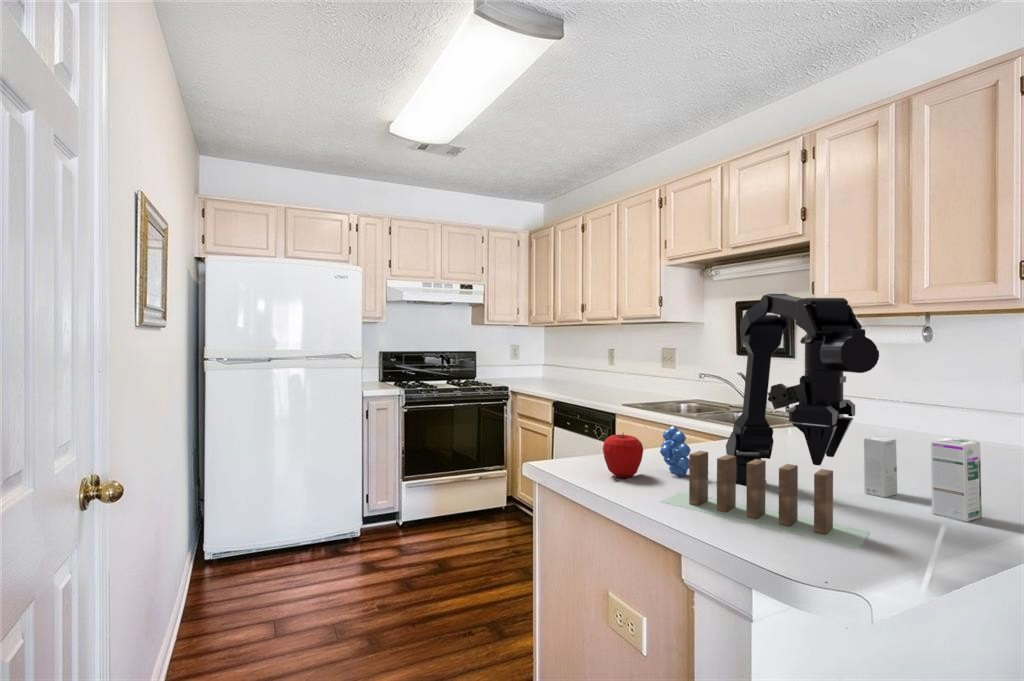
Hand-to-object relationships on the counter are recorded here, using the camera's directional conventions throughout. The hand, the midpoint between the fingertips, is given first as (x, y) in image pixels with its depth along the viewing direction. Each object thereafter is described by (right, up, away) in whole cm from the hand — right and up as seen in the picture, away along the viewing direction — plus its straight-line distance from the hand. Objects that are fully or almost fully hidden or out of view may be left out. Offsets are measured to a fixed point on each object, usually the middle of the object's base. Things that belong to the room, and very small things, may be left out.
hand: (823, 460), depth 89 cm
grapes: (-14, -13, +39) cm, 44 cm away
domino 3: (-8, -12, +8) cm, 16 cm away
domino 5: (0, -12, 0) cm, 12 cm away
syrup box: (+31, -13, +10) cm, 36 cm away
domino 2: (-12, -12, +11) cm, 20 cm away
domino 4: (-4, -12, +4) cm, 13 cm away
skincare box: (+28, -13, +25) cm, 39 cm away
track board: (-8, -13, +8) cm, 17 cm away
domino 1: (-16, -12, +15) cm, 25 cm away
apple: (-27, -13, +37) cm, 48 cm away
